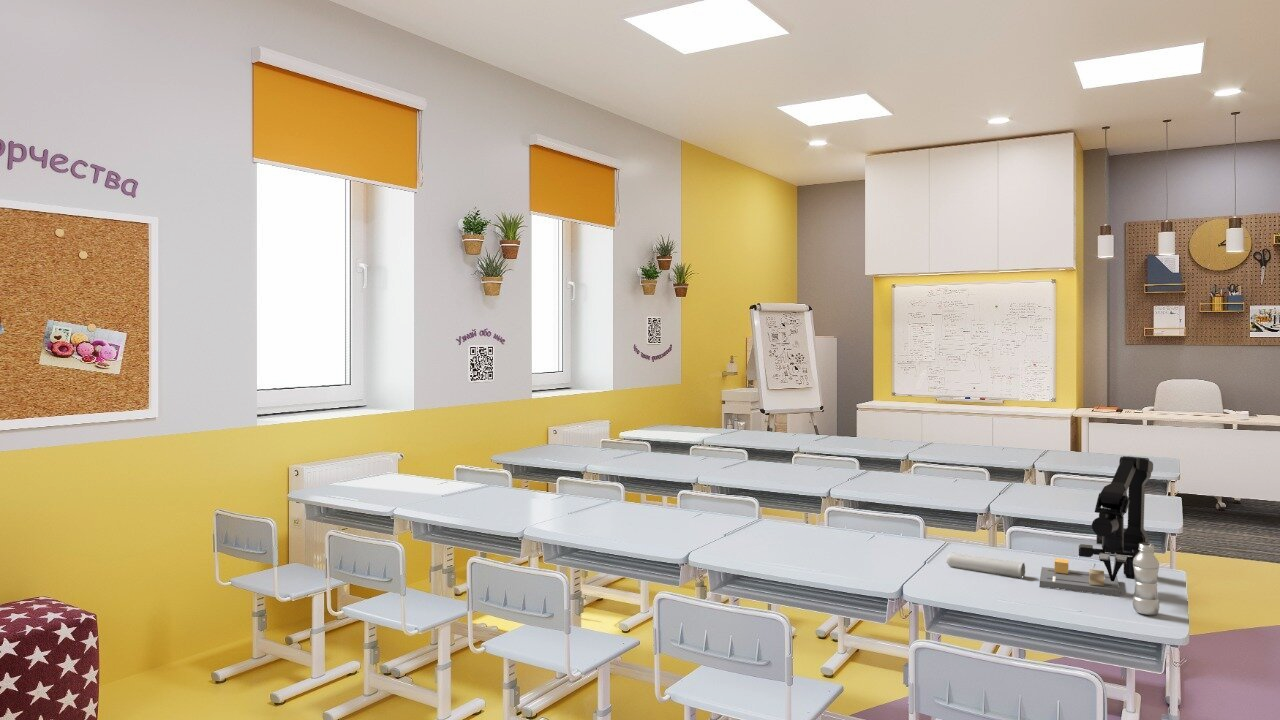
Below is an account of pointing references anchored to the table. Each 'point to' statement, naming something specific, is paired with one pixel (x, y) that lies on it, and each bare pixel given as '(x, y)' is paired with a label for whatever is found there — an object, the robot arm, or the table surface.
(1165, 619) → the table surface
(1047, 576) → the fader panel
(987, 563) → the tube
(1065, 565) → the block
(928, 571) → the table surface
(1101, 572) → the oak fader
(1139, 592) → the plastic bottle
